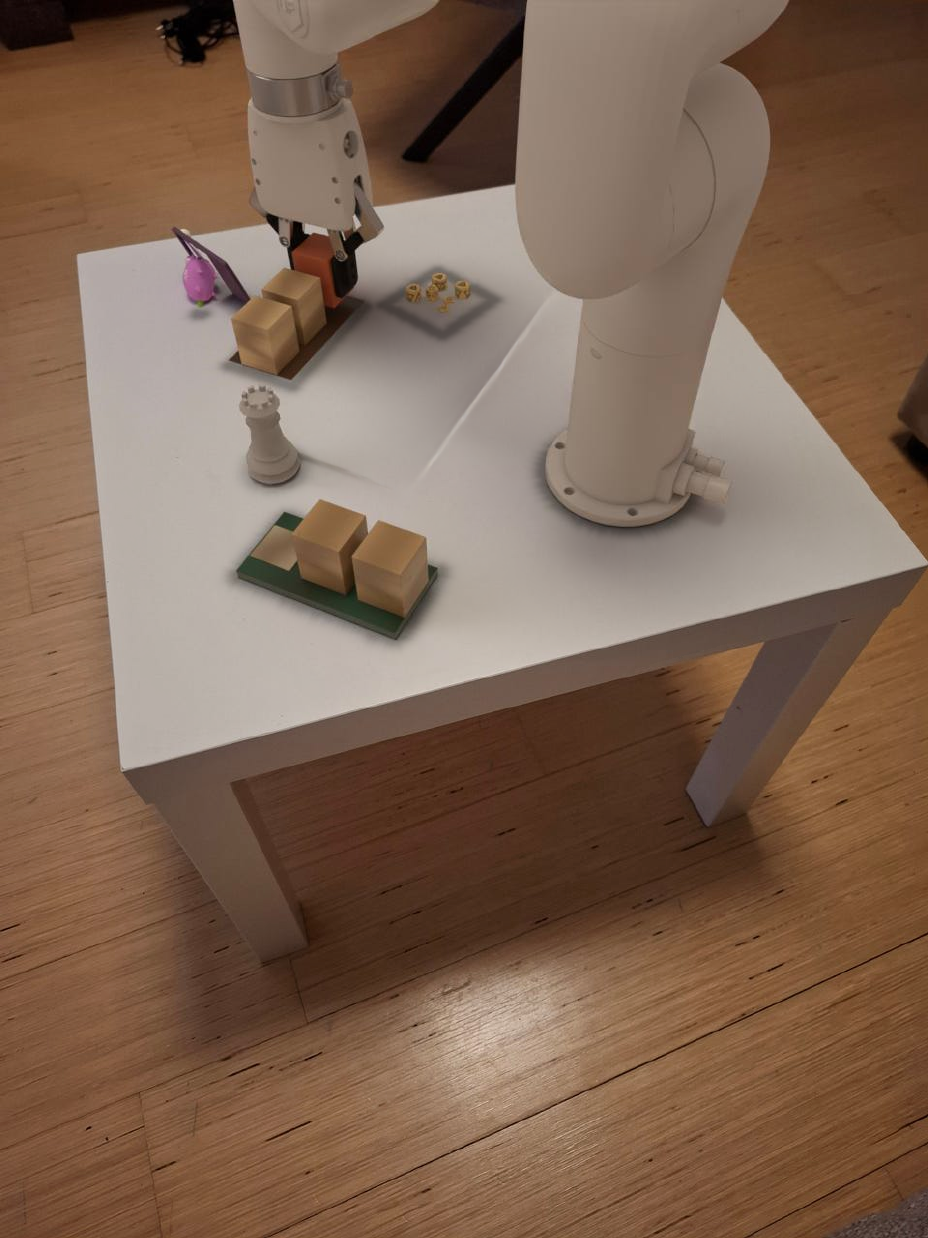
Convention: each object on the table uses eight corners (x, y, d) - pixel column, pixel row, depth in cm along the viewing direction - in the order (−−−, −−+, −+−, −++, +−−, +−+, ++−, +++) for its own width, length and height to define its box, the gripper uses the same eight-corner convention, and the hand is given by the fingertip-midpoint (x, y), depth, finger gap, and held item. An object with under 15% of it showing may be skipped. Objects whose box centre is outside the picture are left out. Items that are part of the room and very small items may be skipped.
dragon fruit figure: (232, 256, 86) (178, 220, 90) (193, 293, 85) (140, 256, 89) (263, 305, 92) (211, 269, 96) (227, 340, 91) (176, 303, 95)
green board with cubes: (438, 574, 71) (436, 523, 66) (395, 639, 67) (390, 590, 63) (285, 517, 75) (273, 465, 70) (237, 577, 71) (221, 526, 66)
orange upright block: (354, 287, 91) (348, 240, 87) (334, 308, 89) (327, 261, 85) (320, 278, 92) (313, 231, 88) (299, 299, 90) (291, 252, 86)
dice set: (403, 305, 93) (402, 288, 91) (437, 283, 95) (436, 266, 93) (440, 324, 91) (440, 307, 89) (473, 301, 93) (474, 284, 91)
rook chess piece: (256, 493, 76) (237, 419, 70) (242, 459, 79) (222, 385, 73) (307, 478, 78) (292, 404, 71) (291, 445, 80) (276, 370, 74)
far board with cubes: (365, 307, 92) (360, 254, 88) (292, 387, 85) (282, 334, 80) (306, 290, 94) (298, 237, 90) (229, 366, 87) (216, 313, 82)
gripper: (405, 84, 75) (418, 284, 89) (237, 52, 80) (275, 247, 94) (360, 122, 71) (381, 325, 85) (186, 86, 76) (234, 285, 90)
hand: (325, 283), depth 90 cm, fingers closed on orange upright block, 4 cm apart
